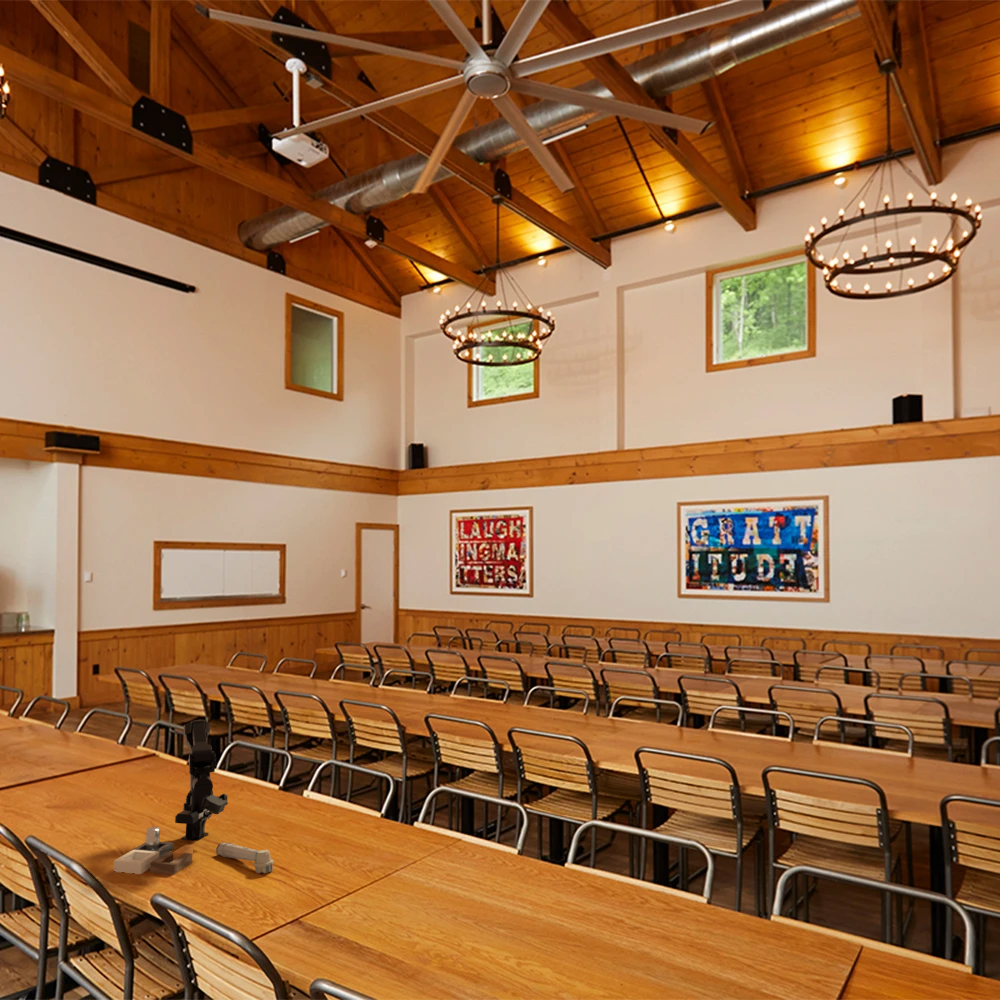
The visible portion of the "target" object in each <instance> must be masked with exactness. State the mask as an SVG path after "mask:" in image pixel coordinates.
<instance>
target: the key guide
mask: <svg viewBox="0 0 1000 1000" xmlns="http://www.w3.org/2000/svg"><path fill="white" fill-rule="evenodd" d="M173 852H174V851H171V852H167V853H166V854H164V855H163V856H161V857H159V858H158V859H156V860H154V861H153V862H151V866H150V869H149V870H150V871H149V872H151V873H153V874H162V875H163V874H165V875H172V874H173V876H174V875H176V874H177V873H179V872H180V871H182V870H184V869H185V868H186V867H188V866H189V865H191V864H192V861H193V856H192V853H184V854H183V855H181V856H180V857H178V858H176V859H175V860H173ZM190 863H191V864H190ZM187 865H188V866H187ZM184 867H185V868H184ZM178 871H179V872H178ZM151 873H150V874H151Z"/></svg>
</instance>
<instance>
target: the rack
mask: <svg viewBox="0 0 1000 1000" xmlns="http://www.w3.org/2000/svg"><path fill="white" fill-rule="evenodd" d="M131 850H132V851H131ZM131 850H130V851H128V852H127V853H125V854H123V855H121V856H120V857H117V858H116V859H114V864H113V872H114V871H116V872H115V873H121V872H125V874H132V873H135V874H134V875H142V874H143V873H145V872H147V871H148V870H150V866H151V862H153V861H154V860H156V859H158V858H159V852H156V851H144V850H133V849H131Z"/></svg>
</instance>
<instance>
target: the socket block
mask: <svg viewBox="0 0 1000 1000" xmlns="http://www.w3.org/2000/svg"><path fill="white" fill-rule="evenodd" d="M132 850H144V851H153V850H146V841H145V842H144V843H142V844H140V845H138V846H136V847H134V848H133V849H131V850H130V851H132ZM172 850H173V851H174V842H172V841H171V842H169V841H159V849H157V850H155V851H156V852H159V857H161V856H163V855H164V854H166V853H167V852H170V851H171V852H173V851H172Z"/></svg>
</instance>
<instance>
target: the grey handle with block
mask: <svg viewBox="0 0 1000 1000" xmlns="http://www.w3.org/2000/svg"><path fill="white" fill-rule="evenodd" d="M215 849H216V850H215V851H216V855H218V856H220V857H223V858H231V859H236V860H243V861H251V862H253V866H254V867H255V869H254V870H255V873H256V874H261V873H263V874H266V873H270V872H272V871H273V869H274V868H273V866H274V865H273V864H274V863H275V860H274V859H272V858H271V852H270V851H269V849H261V850H258V849H254V848H250V847H245V846H241V845H237V844H234V843H232V842H221V843H219V844H218V845H217V847H216V848H215Z"/></svg>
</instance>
